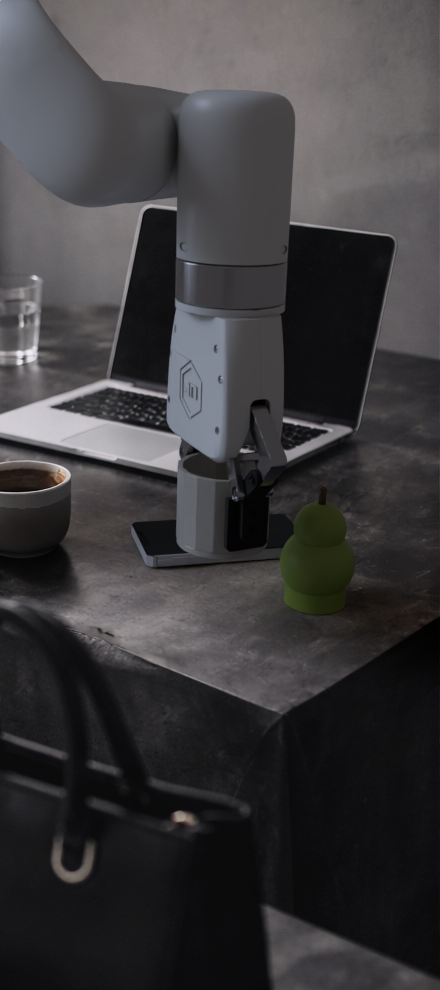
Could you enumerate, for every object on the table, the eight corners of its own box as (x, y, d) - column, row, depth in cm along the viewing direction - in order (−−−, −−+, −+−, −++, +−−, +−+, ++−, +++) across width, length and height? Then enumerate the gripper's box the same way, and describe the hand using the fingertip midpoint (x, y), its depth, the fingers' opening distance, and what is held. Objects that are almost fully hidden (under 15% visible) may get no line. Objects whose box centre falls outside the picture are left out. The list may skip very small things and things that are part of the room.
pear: (279, 616, 77) (288, 499, 73) (275, 582, 82) (282, 472, 79) (356, 619, 77) (367, 501, 73) (345, 585, 82) (356, 474, 79)
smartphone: (313, 546, 87) (147, 557, 83) (312, 558, 88) (147, 570, 83) (283, 512, 94) (130, 520, 90) (282, 523, 95) (130, 533, 91)
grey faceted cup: (174, 558, 70) (176, 479, 68) (177, 522, 76) (179, 449, 74) (269, 561, 70) (274, 482, 68) (264, 524, 76) (268, 451, 74)
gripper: (133, 270, 72) (132, 495, 78) (238, 312, 58) (227, 585, 64) (224, 267, 75) (216, 484, 82) (346, 306, 61) (325, 567, 67)
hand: (221, 526), depth 73 cm, fingers closed on grey faceted cup, 6 cm apart
